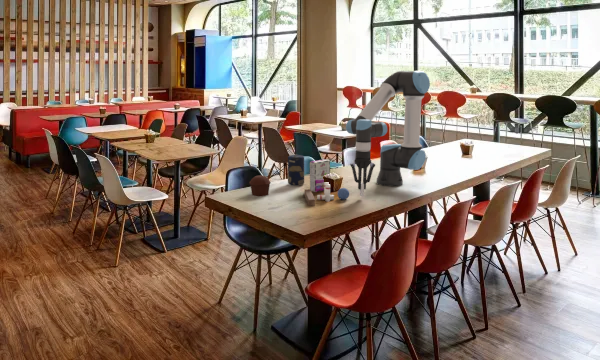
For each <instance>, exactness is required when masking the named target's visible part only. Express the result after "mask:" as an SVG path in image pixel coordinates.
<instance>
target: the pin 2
mask: <svg viewBox="0 0 600 360" xmlns="http://www.w3.org/2000/svg"><path fill="white" fill-rule="evenodd" d="M325 189H326V190H325V202H331V200H330V195H331V183H330V184H326V187H325Z"/></svg>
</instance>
